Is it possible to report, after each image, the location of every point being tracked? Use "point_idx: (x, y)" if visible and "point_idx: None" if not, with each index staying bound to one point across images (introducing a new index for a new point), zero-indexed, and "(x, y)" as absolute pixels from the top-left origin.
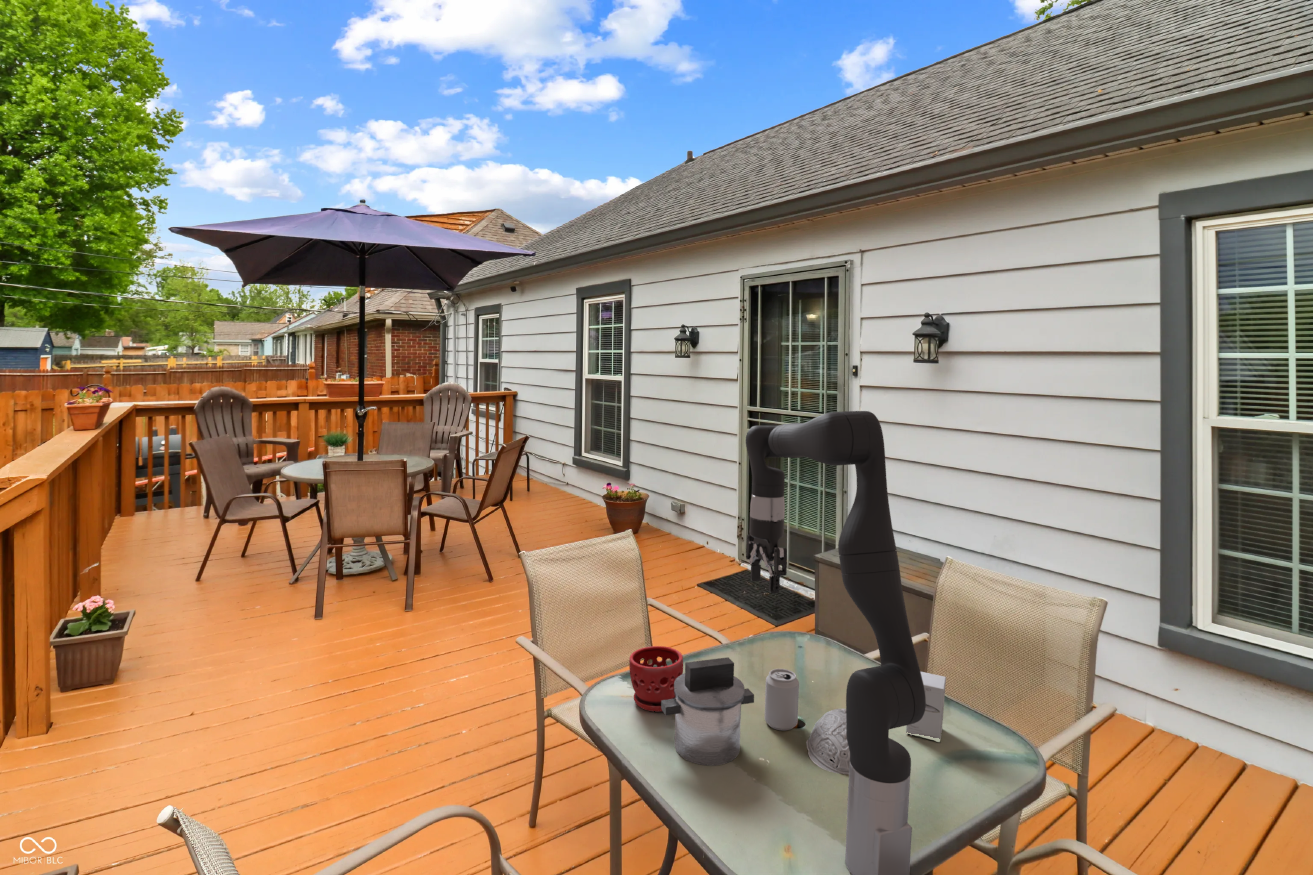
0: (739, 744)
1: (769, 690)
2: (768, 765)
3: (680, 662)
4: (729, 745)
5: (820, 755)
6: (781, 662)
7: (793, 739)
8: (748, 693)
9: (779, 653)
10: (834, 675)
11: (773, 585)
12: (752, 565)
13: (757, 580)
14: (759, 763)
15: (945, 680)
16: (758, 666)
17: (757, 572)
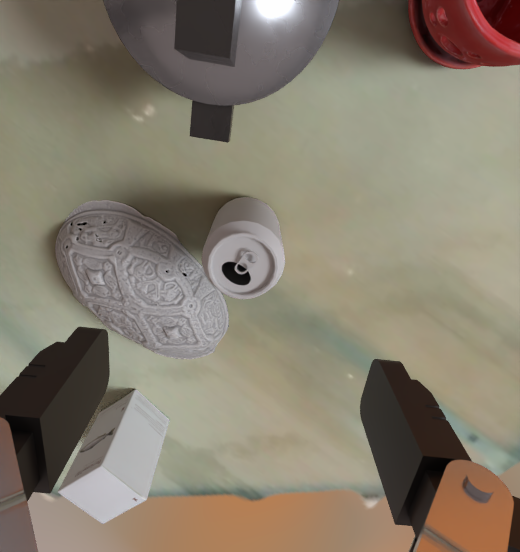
0: None
1: (240, 216)
2: (123, 109)
3: (465, 16)
4: None
5: (107, 217)
6: (444, 373)
7: (188, 214)
8: (202, 125)
9: (476, 391)
10: (346, 419)
11: (29, 372)
12: (428, 460)
13: (363, 393)
14: (135, 95)
15: (90, 514)
16: (459, 325)
17: (382, 439)
